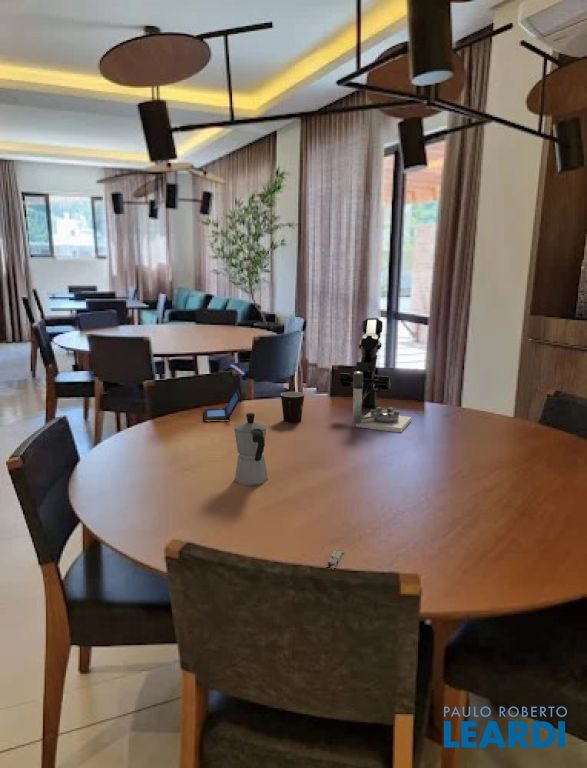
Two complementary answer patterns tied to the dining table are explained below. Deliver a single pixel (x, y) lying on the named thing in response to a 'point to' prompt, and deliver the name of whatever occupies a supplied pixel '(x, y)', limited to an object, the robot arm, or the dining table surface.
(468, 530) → the dining table surface
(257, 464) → the coffee maker
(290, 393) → the dark brown coffee cup
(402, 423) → the base plate
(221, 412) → the handheld game console
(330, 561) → the granola bar
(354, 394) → the grey l-shaped piece
